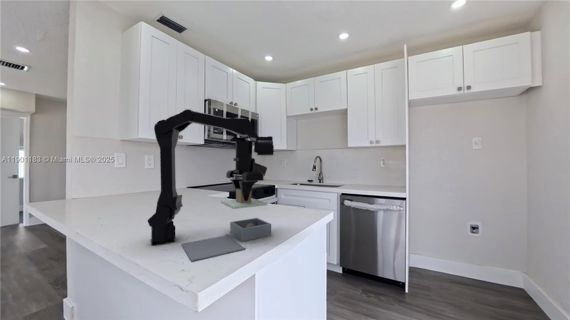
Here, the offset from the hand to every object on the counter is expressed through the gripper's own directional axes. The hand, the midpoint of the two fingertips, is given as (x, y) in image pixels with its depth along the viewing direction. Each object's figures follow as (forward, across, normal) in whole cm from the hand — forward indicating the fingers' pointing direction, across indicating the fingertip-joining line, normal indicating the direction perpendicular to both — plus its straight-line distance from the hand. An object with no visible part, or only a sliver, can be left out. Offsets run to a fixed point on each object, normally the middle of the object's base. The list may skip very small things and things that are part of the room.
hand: (243, 199), depth 80 cm
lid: (+2, 0, 0) cm, 2 cm away
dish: (+13, +1, -3) cm, 13 cm away
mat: (+13, -4, +12) cm, 18 cm away
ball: (+10, +1, -3) cm, 11 cm away
